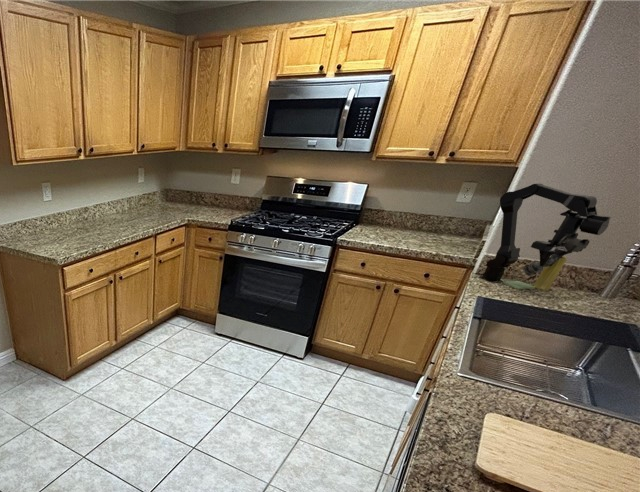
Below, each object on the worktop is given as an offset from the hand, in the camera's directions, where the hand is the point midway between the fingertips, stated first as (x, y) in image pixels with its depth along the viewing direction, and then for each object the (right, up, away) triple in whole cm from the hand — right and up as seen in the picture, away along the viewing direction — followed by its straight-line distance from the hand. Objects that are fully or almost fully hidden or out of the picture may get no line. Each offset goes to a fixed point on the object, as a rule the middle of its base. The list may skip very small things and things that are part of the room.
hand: (545, 266), depth 179 cm
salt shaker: (-1, 0, +7) cm, 7 cm away
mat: (0, -5, +13) cm, 14 cm away
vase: (+10, -7, +12) cm, 17 cm away
